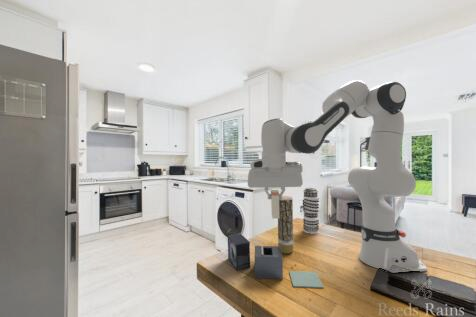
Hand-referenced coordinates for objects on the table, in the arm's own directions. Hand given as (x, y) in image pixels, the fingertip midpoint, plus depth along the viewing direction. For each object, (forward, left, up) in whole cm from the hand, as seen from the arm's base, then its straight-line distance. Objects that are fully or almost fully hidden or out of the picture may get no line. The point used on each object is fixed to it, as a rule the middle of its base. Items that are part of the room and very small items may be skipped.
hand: (275, 199), depth 78 cm
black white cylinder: (-24, -45, -29) cm, 58 cm away
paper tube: (-6, -19, -29) cm, 35 cm away
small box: (+15, -7, -29) cm, 33 cm away
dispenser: (+3, -1, -28) cm, 28 cm away
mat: (-10, +3, -28) cm, 30 cm away
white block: (0, 0, -7) cm, 7 cm away
